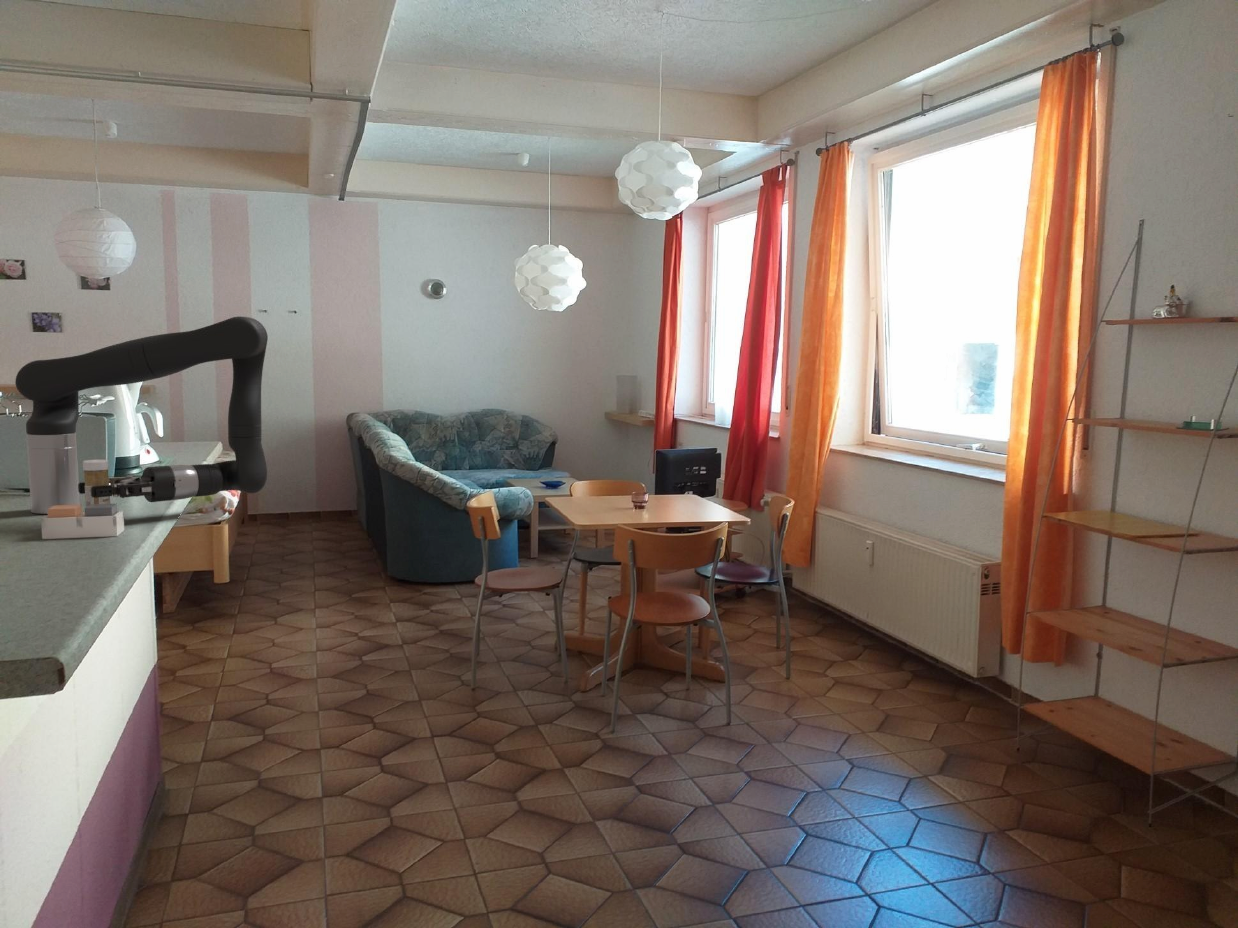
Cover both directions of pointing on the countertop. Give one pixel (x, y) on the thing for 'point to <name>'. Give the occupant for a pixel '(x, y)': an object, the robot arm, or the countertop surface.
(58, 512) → the key terracotta
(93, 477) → the sprinkles bottle
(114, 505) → the key charcoal
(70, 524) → the keypad
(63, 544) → the countertop surface
